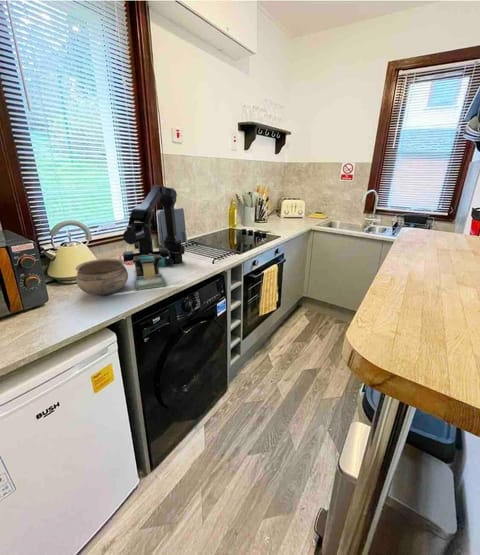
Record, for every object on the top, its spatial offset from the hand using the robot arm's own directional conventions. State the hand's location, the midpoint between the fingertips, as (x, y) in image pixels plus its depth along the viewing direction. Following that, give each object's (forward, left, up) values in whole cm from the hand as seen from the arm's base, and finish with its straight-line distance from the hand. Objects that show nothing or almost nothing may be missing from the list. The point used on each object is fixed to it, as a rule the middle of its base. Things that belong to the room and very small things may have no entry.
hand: (148, 273), depth 121 cm
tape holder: (0, -14, -5) cm, 15 cm away
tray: (0, 0, -5) cm, 5 cm away
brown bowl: (+18, +3, -5) cm, 19 cm away
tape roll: (0, 0, -2) cm, 2 cm away
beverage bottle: (+3, -30, -2) cm, 30 cm away
